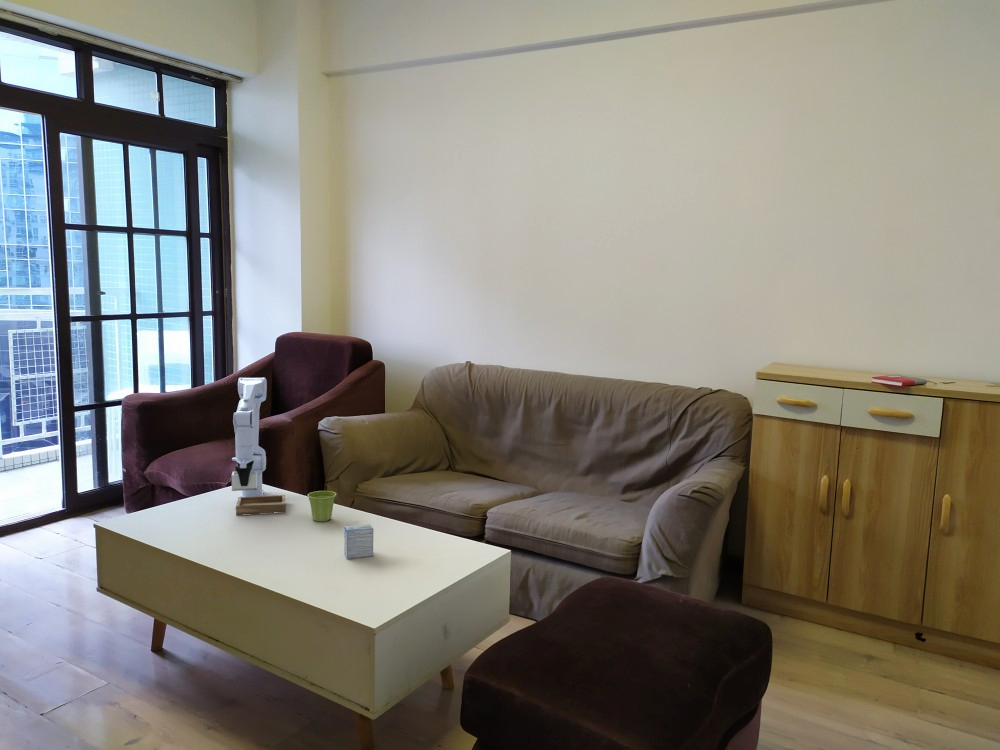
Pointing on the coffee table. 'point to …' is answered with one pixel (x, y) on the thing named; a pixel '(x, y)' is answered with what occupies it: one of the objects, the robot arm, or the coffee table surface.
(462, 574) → the coffee table surface
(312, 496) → the plant pot
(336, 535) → the coffee table surface
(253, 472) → the white crate
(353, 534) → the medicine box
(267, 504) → the walnut crate
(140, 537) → the coffee table surface
